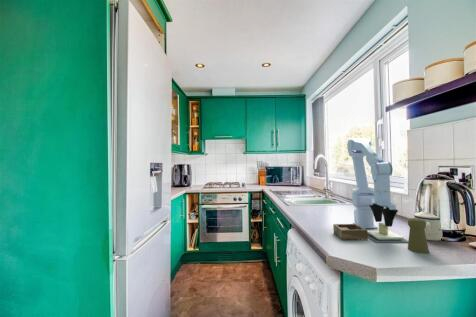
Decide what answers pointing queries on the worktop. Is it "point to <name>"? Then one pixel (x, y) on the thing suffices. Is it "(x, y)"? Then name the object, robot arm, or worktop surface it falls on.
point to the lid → (384, 233)
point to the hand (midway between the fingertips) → (383, 223)
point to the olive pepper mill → (417, 236)
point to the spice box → (350, 232)
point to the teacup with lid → (431, 225)
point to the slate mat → (386, 240)
